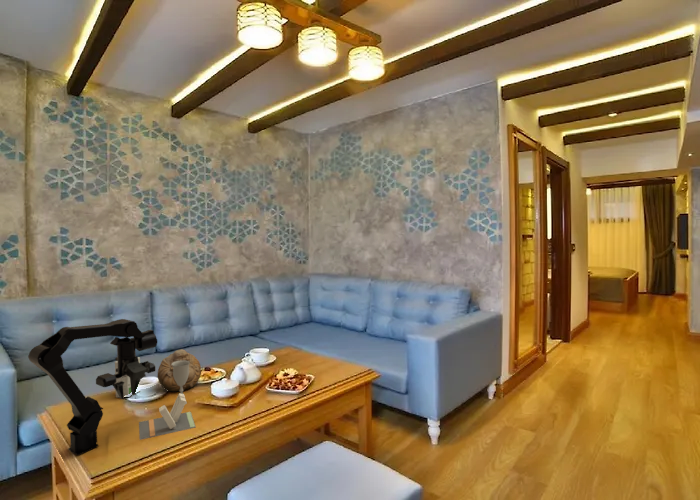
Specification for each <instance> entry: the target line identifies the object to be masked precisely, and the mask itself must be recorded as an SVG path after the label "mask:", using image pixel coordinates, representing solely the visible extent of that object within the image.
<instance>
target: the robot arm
mask: <svg viewBox="0 0 700 500" xmlns="http://www.w3.org/2000/svg"><path fill="white" fill-rule="evenodd" d="M138 327H139V326H138V323H137V322H136V321H134V320H129V319H126V318H120V319H117V320H116V319H115V320H112V321H110V322H107V323H104V324H103V323H102V324H91V325H90V324H89V325H81V326H80V325H79V326H64V327H61V328H60V329H59V330H58V331H57V332H56V333H54V334H52V335H51V336H49V337H48V338H46V339H45V340H43V341H42V342H41V343H40V344H38V345H35V346H34V347H32V349H31V350H30V351H29V354H28V356H27V357H28V359H29V361H30V362H31V364H33V365H35V367H36V368H38V369H39V370H41V371H43V372H44V373H45V374H47V375H48V377H49V378H50V379H51V380H52V382H53V384H54V385H55V386H56V388H57V389H58V390H59V391H60V392H61V394H62V395H63V396H64V398H65V399H66V400H67V402H68V403H69V404H70V406H71V412H72V414H73V416H72V418H71V419H70V420H69V421H68V423H67V424H66V427H67V428H68V430H70V431H71V432H69V437H70V438H69V439H70V441H69V442H70V447H69V448H68V451H69V452H71V453H73V454H74V455H76V456H80V455H82V454H85V453H87V452H89V451H91V450H93V449H96V448H98V447H99V443H98V431H97V430H98V428H99V425H100V422H101V421H102V418H103V416H104V412H103V409H104V407H101V405H100V404H99V401H98V400H97V399H95V398H93V397H90V396H87V397H86V396H85V394H84V393H83V392H82V390H81V389H80V387H78V385H77V383H76V382H75V381H74V380H73V378H72V377H71V376H70V375H69V373H68V372H67V370H66V369H65V367H64V360H63V358H62V356H63V354H64V353H66V351H67V350H68V348H69V347H70V346H71V344H72V343H73V342H74V341H76V340H84V339H92V338H101V337H115V338H114V339H113V340H111V341H110V342H109V343H110V345H112V346H115V347H116V349H117V351H116V352H117V355H116V357H115V362H116V361H118V368H117V369H116V372H118V374H115V373H114V374H112V373H109V372H108V373H104V374H100V375H98V376H96V379H95V385H98V386H100V387H101V388H107V387H111V386H113V388H114V390H115V392H116V391H117V393H118V395H119V397H120V399H121V400H124V398H123V384H124V382H123V381H122V378H123V377H126V376H129V377H130V383H131V392H132V395H133V396H135V395H136V394H135V392H136V389H137V387H138V384H139V382H140V381H141V380H142V379H143V378H144V377H146V376H147V374H150V373H154V372H156V365H155V364H154V363H153V362H150V361H149V360H145V361H142V362H141V361H140V363H139V361H138V357H139V356H136V353H137V352H136V351H138V352H142V351H146V350H149V349H153V348H155V347H157V345H158V339H157V336H156V334H155V332H154V330H153V329H148V330H144V331H141V330H140V329H139V328H138ZM146 373H147V374H146Z"/></svg>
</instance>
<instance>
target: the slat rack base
mask: <svg viewBox="0 0 700 500" xmlns="http://www.w3.org/2000/svg"><path fill="white" fill-rule="evenodd" d="M186 402H187V400H186V397H185V394H184V393H183V394H180V393H178V395H177V397H176V398H175V401H174V404H173V406H172V407H171V410H170V412H169V413H170V415H171V416H172V418H173V420H174V421H175V424H176V426H175V427H173V428H172V429H170V428H169V426H168V425H167V423H166V421H165V420H164V418H163V416H162V417H158V418H152V419H147V420H142V421H138V429H139V431H138V432H139V441H142V440H145V439H150V438H155V437H159V436H164V435H167V434H173V433H176V432H181V431H186V430H187V431H188V430H191V429H194V428H196V424H195V421H194V417H193V415H192V412H191V411H188V412H186V411H185V412H183V410H184V407H185V405H186V404H185V403H186Z"/></svg>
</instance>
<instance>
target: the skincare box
mask: <svg viewBox="0 0 700 500" xmlns="http://www.w3.org/2000/svg"><path fill="white" fill-rule="evenodd" d="M137 357H138V361H139V363H141V357H139V356H137ZM117 368H118V361H116V360H115V361H114V374H118V372H116V369H117ZM122 381H123V382H124V384H123V399H125V398H124V396H125V395H128V394H130V393H131V383H130V377H129V376H126V377H123V378H122ZM115 398H120V397H119V395H118V393H117V391H116V390H115Z"/></svg>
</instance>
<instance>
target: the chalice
mask: <svg viewBox="0 0 700 500" xmlns="http://www.w3.org/2000/svg"><path fill="white" fill-rule="evenodd" d="M189 364H190V361H186V360H181V361H176V362H173V363H172V366H173V377H174V379H175V381H176V383H177V385H178V386H180V390H179V391H180V394H184V393H183V392H184V390H183V385H185V383H186V381H187V379H188V376H189ZM186 404H188V402H187V401H186V403H185V405H186Z"/></svg>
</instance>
